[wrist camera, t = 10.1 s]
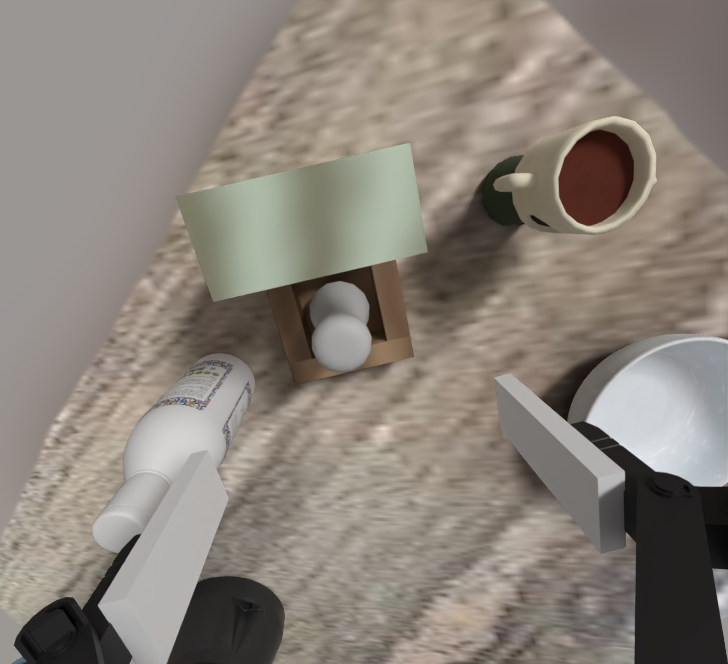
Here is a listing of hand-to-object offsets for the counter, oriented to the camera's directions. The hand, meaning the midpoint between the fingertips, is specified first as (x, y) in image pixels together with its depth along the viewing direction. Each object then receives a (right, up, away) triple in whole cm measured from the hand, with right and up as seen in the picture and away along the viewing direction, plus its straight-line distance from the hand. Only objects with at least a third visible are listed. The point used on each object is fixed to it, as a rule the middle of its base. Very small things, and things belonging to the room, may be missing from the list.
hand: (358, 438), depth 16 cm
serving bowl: (+32, -4, +28) cm, 43 cm away
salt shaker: (-2, +8, +21) cm, 23 cm away
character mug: (+15, +19, +20) cm, 31 cm away
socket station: (-3, +10, +20) cm, 23 cm away
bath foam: (-15, 0, +23) cm, 28 cm away
